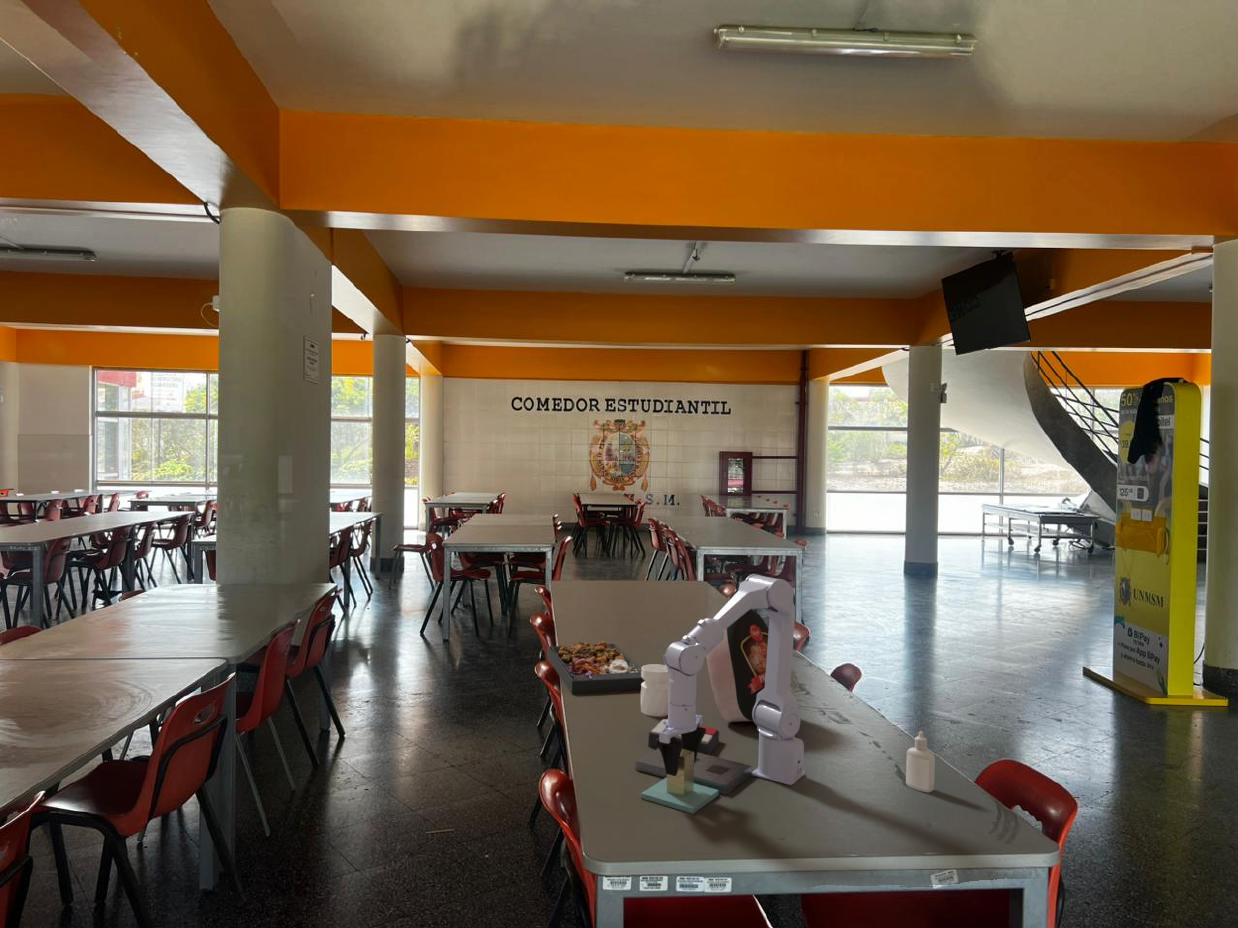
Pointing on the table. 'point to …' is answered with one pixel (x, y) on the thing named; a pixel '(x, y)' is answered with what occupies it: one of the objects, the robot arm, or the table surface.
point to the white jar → (654, 690)
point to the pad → (687, 803)
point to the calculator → (705, 746)
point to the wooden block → (682, 775)
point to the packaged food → (739, 667)
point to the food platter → (595, 668)
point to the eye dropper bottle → (920, 766)
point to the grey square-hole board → (701, 770)
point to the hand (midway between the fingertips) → (680, 768)
